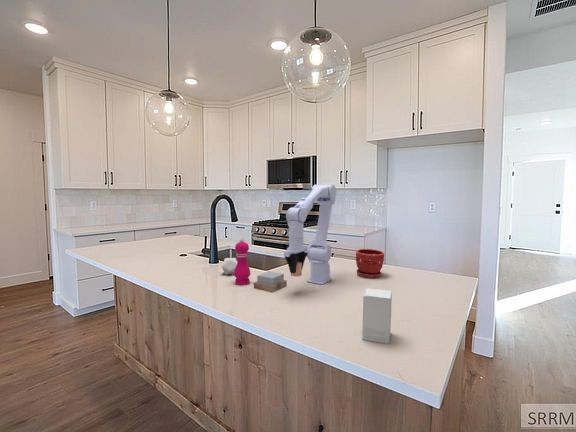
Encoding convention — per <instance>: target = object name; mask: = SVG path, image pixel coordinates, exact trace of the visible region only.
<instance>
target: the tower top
mask: <svg viewBox="0 0 576 432" xmlns="http://www.w3.org/2000/svg"><path fill="white" fill-rule="evenodd" d="M284 279H285V275H284V273H280V272H275V271H266V272H263V273H260V274H257V278H256V281H257V282H258V283H262V284H267V285H272V286H273V285H275V284H278V283H280V282H282V281H284Z"/></svg>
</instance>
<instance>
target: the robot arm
mask: <svg viewBox="0 0 576 432" xmlns="http://www.w3.org/2000/svg"><path fill="white" fill-rule="evenodd" d="M336 196H337V188H336V185H335V184H333V183H331V184H314V185H313V186H311V192H310V193H309V194H308V195H307V197H301V199H300V200H299V202H297V203H296V204H295V205H294V206H293V207H290V208H289V209H287V210H286V214H285V219H286V222H287V226H288V247H287V248H286V250H284V251H283V256H284V259H285V260H286V262H287V265H288V268H289V273H290V274H291V273H296V265H297V261H298V262H302V269H303V267H304V264H305V260H306V258H307V260H308V261H309V263H310V278H308V279H307V280H306V282H307V283H314V284H318V285H324V284H326V283H328V282H330V281H331V280H332V278H331V277H330V276H331V271H330V270H331V266H330V263H329V262H330V260H331V257H332V246H331V244H329V242H328V241H327V238H328V232H329V231H328V230H329V226H330V218H331V214H332V213H331V212H332V208H333V205H334V204H335V202H336V198H337V197H336ZM315 202H316V204H318V205H319V206H320V207H319V214H318V221H317V226H316V232H315V238H314V239H313V240H312V241H311V242H309V245H304V222H306V219H307V217H308V214H309V212H310V211H311V210H312V209H313V207H314V203H315Z"/></svg>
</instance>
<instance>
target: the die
mask: <svg viewBox="0 0 576 432" xmlns="http://www.w3.org/2000/svg"><path fill="white" fill-rule="evenodd" d="M237 260H238V259H237V257H225V258H224V260H223V261H222V262H223V263H222V265H221V268H222V271H223V273H224V275H225V276H233V275H232V274H234V271H235V268H236V265H237Z"/></svg>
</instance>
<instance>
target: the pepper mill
mask: <svg viewBox="0 0 576 432" xmlns="http://www.w3.org/2000/svg"><path fill="white" fill-rule="evenodd" d="M249 249H250V247H249V244H248V243H247V242H245V240H244V238H240V239H239V242H237V243H236V244H235V246H234V250H235V251H236V253H235V255H236V260H237V265H236V268H235V271H234V277H235V279H234V280H235V285H237V284H238V286H244V285H245V284H246V285H248V283H249V284H250V278H249V277H250V276H251V269H250V267H249V264H248V258H247V257H248V252H249ZM246 285H245V286H246Z"/></svg>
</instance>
